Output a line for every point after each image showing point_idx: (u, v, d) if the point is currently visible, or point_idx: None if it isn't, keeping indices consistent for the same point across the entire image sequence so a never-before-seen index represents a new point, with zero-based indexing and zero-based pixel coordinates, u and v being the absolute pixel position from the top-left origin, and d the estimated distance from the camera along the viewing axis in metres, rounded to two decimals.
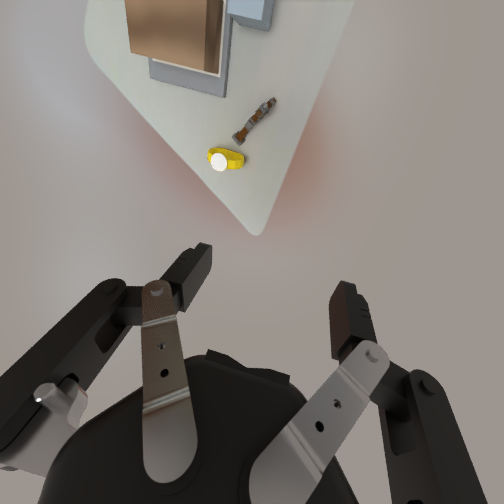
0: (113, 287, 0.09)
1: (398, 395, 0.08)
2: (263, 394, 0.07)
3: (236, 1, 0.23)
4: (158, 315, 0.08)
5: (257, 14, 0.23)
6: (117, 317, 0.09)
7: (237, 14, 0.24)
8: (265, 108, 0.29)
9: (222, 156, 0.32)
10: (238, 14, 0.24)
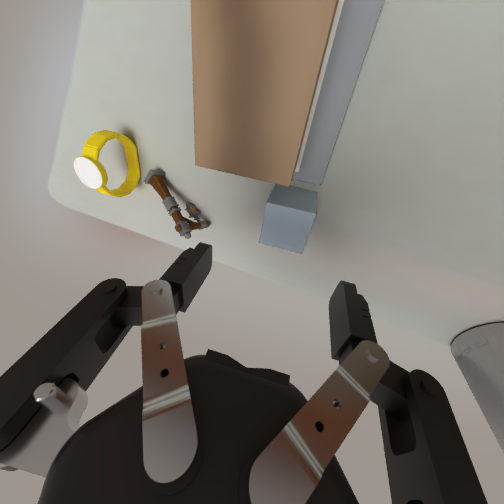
0: (113, 287, 0.09)
1: (398, 395, 0.08)
2: (263, 394, 0.07)
3: (276, 215, 0.17)
4: (158, 315, 0.08)
5: (263, 239, 0.19)
6: (117, 317, 0.09)
7: (264, 215, 0.18)
8: None
9: (99, 181, 0.19)
10: (264, 216, 0.18)
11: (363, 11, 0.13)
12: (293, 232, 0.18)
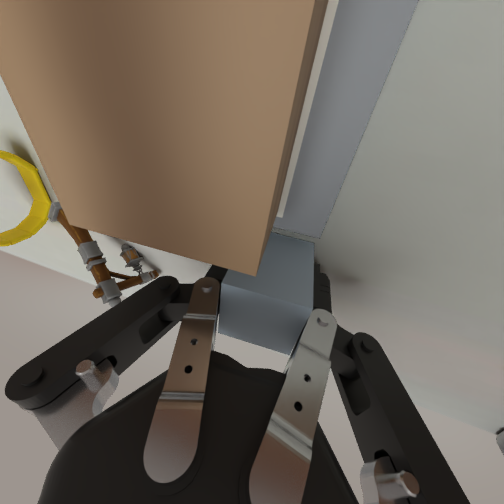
0: (168, 284, 0.10)
1: (342, 354, 0.09)
2: (263, 394, 0.07)
3: (240, 302, 0.10)
4: (201, 311, 0.09)
5: (225, 329, 0.11)
6: (164, 313, 0.10)
7: (222, 299, 0.10)
8: None
9: None
10: (221, 301, 0.10)
11: None
12: (272, 327, 0.10)
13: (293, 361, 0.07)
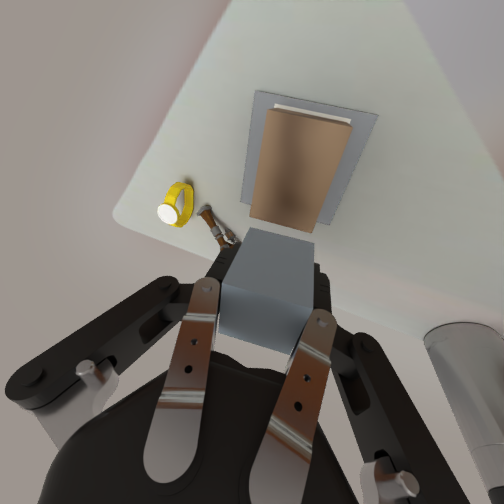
0: (168, 284, 0.10)
1: (342, 354, 0.09)
2: (263, 394, 0.07)
3: (241, 302, 0.10)
4: (201, 311, 0.09)
5: (225, 329, 0.11)
6: (164, 313, 0.10)
7: (222, 299, 0.10)
8: None
9: (174, 220, 0.27)
10: (222, 301, 0.10)
11: (360, 132, 0.21)
12: (272, 327, 0.10)
13: (293, 361, 0.07)
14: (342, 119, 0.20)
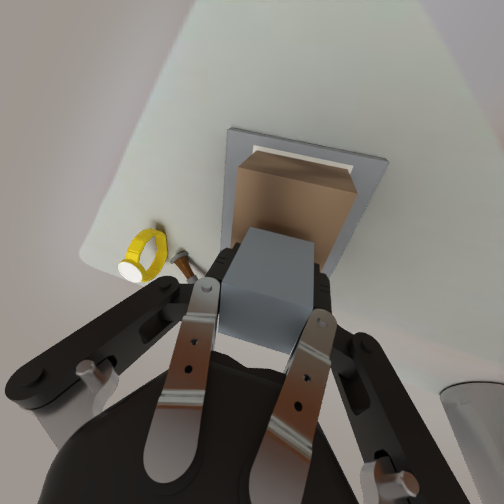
0: (168, 284, 0.10)
1: (342, 354, 0.09)
2: (263, 394, 0.07)
3: (240, 302, 0.10)
4: (201, 311, 0.09)
5: (225, 329, 0.11)
6: (164, 313, 0.10)
7: (222, 298, 0.10)
8: None
9: (139, 278, 0.22)
10: (221, 301, 0.10)
11: (365, 181, 0.16)
12: (272, 327, 0.10)
13: (293, 361, 0.07)
14: (341, 166, 0.16)
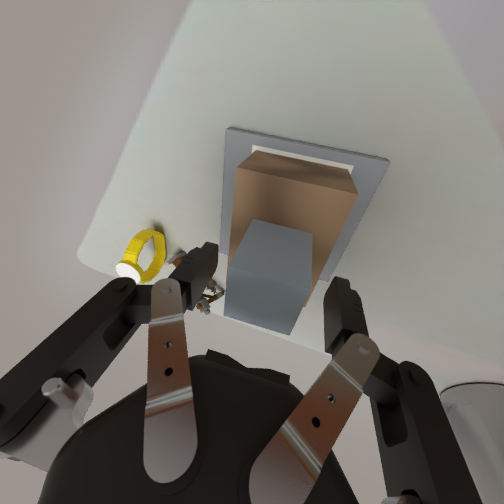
0: (123, 285, 0.09)
1: (387, 386, 0.08)
2: (263, 394, 0.07)
3: (245, 285, 0.11)
4: (166, 313, 0.09)
5: (230, 312, 0.12)
6: (126, 315, 0.10)
7: (228, 282, 0.11)
8: (204, 312, 0.25)
9: (138, 279, 0.22)
10: (227, 284, 0.11)
11: (366, 181, 0.16)
12: (274, 308, 0.11)
13: (320, 376, 0.07)
14: (342, 166, 0.15)
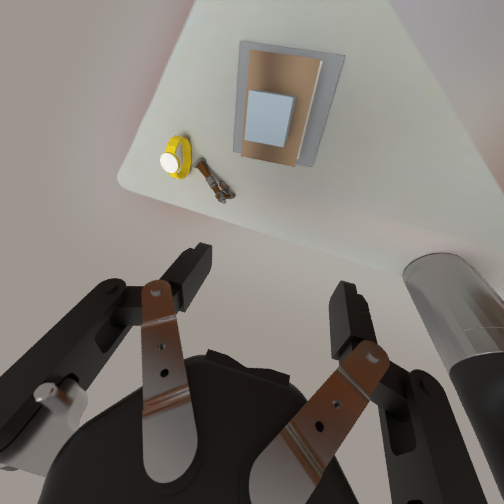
0: (113, 287, 0.09)
1: (398, 395, 0.08)
2: (263, 394, 0.07)
3: (258, 104, 0.19)
4: (158, 315, 0.08)
5: (248, 134, 0.21)
6: (117, 317, 0.09)
7: (248, 106, 0.20)
8: (221, 201, 0.34)
9: (176, 168, 0.30)
10: (248, 107, 0.20)
11: (331, 72, 0.24)
12: (274, 122, 0.20)
13: (326, 381, 0.07)
14: None
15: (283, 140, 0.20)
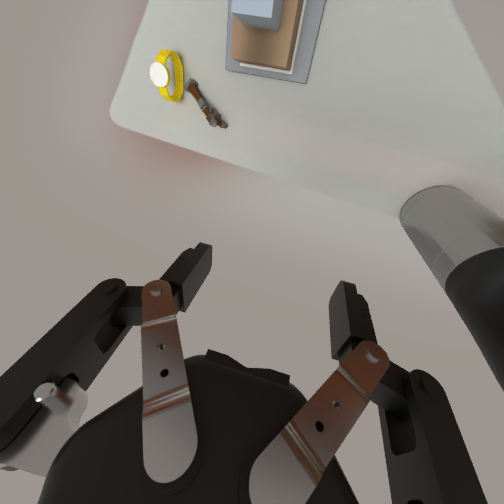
0: (113, 287, 0.09)
1: (398, 395, 0.08)
2: (263, 394, 0.07)
3: None
4: (158, 315, 0.08)
5: (235, 4, 0.20)
6: (117, 317, 0.09)
7: None
8: (212, 124, 0.33)
9: (165, 80, 0.30)
10: None
11: None
12: None
13: (326, 381, 0.07)
14: None
15: (271, 8, 0.20)
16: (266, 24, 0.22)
